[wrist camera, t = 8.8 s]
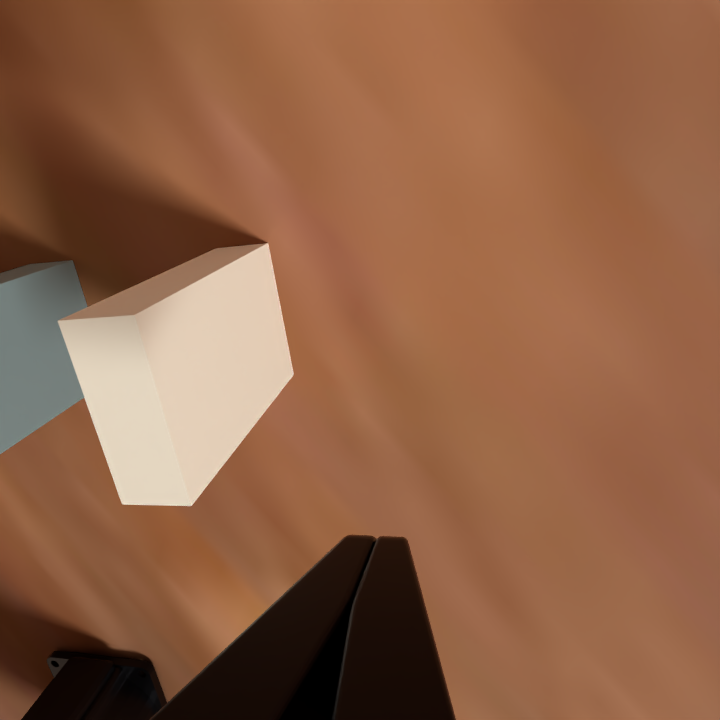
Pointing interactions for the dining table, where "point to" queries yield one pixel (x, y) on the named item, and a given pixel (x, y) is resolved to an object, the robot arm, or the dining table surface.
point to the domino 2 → (181, 370)
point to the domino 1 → (36, 347)
